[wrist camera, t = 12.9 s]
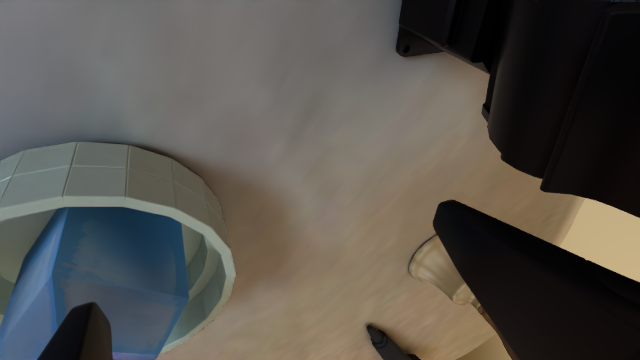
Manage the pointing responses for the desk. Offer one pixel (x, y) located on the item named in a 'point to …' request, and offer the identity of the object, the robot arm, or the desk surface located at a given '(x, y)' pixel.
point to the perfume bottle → (100, 280)
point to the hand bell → (447, 279)
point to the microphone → (388, 346)
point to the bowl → (117, 191)
